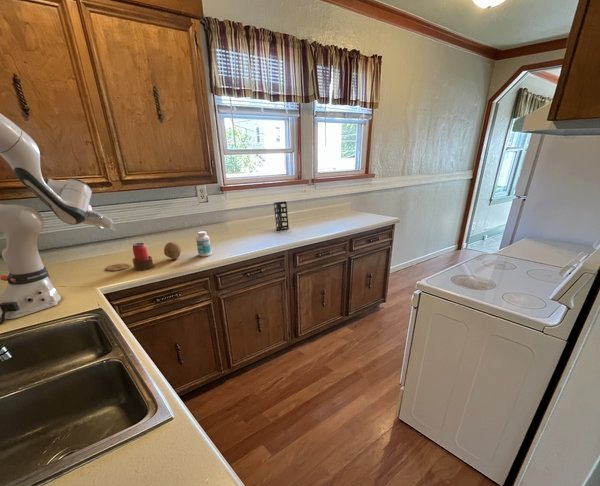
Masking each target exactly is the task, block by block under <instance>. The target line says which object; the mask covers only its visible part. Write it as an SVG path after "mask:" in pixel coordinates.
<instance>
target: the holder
mask: <svg viewBox="0 0 600 486" xmlns="http://www.w3.org/2000/svg"><path fill="white" fill-rule="evenodd" d="M282 205H285V206H282ZM273 211H274V218H275V228H276V231H281V230H288V229H289V217H288V216H289V215H288V203H287V201H276V202H273ZM283 214H285V215H284V216H283ZM284 223H285V224H286V225H283V224H284Z"/></svg>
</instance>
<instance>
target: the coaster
mask: <svg viewBox="0 0 600 486" xmlns="http://www.w3.org/2000/svg"><path fill="white" fill-rule="evenodd" d="M129 267H130V266H129V264H128V263H116V264H112V265H111V264H110V265H109V266H107V267H106V268H105V270H106V271H107V272H119V271H125V270H126V269H128V268H129Z"/></svg>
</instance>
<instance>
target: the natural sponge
mask: <svg viewBox="0 0 600 486" xmlns="http://www.w3.org/2000/svg"><path fill="white" fill-rule="evenodd" d="M163 248H164V249H163V254H164V256H166V257H167V258H170V259H172V260H177V259H179V257H180V256H181V252H182V247H181V246H180V244H179V243H177V242H175V241H170V242H168V243H166V244H165V246H164V247H163Z"/></svg>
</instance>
